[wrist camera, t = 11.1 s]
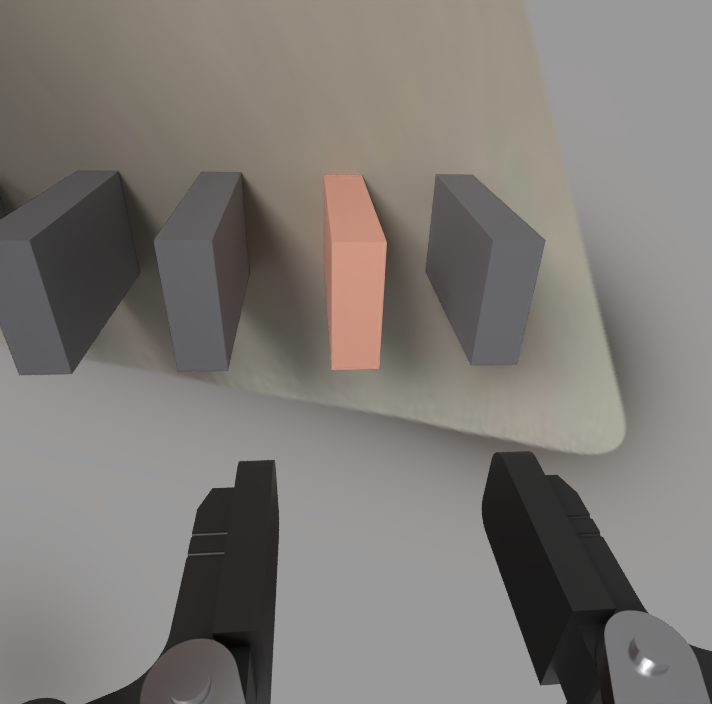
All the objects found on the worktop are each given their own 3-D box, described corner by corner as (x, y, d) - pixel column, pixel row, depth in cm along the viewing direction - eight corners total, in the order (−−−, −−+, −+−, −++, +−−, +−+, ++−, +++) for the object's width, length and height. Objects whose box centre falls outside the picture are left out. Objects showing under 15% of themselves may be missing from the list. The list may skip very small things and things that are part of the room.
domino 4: (425, 271, 27) (470, 365, 20) (435, 174, 25) (493, 240, 17) (458, 271, 28) (516, 364, 20) (472, 174, 25) (545, 240, 17)
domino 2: (214, 272, 27) (177, 371, 19) (201, 171, 24) (153, 240, 16) (249, 272, 27) (227, 370, 19) (241, 172, 24) (211, 240, 16)
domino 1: (102, 273, 26) (19, 375, 18) (77, 170, 23) (-33, 240, 16) (139, 273, 26) (71, 373, 19) (118, 171, 24) (29, 240, 16)
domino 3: (324, 273, 27) (331, 370, 19) (323, 174, 24) (331, 242, 17) (358, 273, 27) (379, 368, 20) (361, 175, 25) (386, 242, 17)
